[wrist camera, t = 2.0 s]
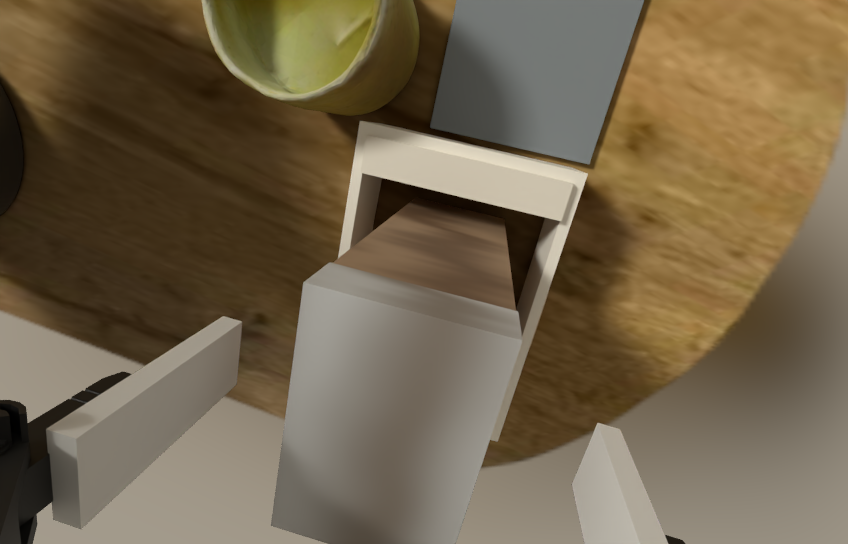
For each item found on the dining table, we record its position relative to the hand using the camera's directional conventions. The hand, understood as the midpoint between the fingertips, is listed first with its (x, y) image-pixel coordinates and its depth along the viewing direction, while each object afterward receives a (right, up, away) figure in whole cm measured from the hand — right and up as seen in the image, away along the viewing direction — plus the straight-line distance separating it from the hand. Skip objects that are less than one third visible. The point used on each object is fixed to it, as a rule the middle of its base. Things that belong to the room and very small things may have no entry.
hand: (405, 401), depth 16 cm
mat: (+7, +18, +9) cm, 22 cm away
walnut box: (+2, +5, +14) cm, 15 cm away
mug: (-4, +21, +11) cm, 24 cm away
